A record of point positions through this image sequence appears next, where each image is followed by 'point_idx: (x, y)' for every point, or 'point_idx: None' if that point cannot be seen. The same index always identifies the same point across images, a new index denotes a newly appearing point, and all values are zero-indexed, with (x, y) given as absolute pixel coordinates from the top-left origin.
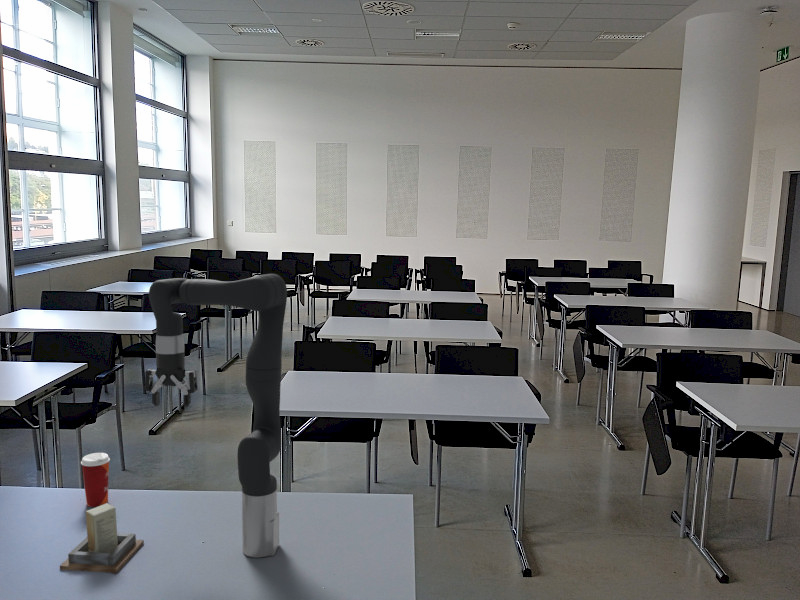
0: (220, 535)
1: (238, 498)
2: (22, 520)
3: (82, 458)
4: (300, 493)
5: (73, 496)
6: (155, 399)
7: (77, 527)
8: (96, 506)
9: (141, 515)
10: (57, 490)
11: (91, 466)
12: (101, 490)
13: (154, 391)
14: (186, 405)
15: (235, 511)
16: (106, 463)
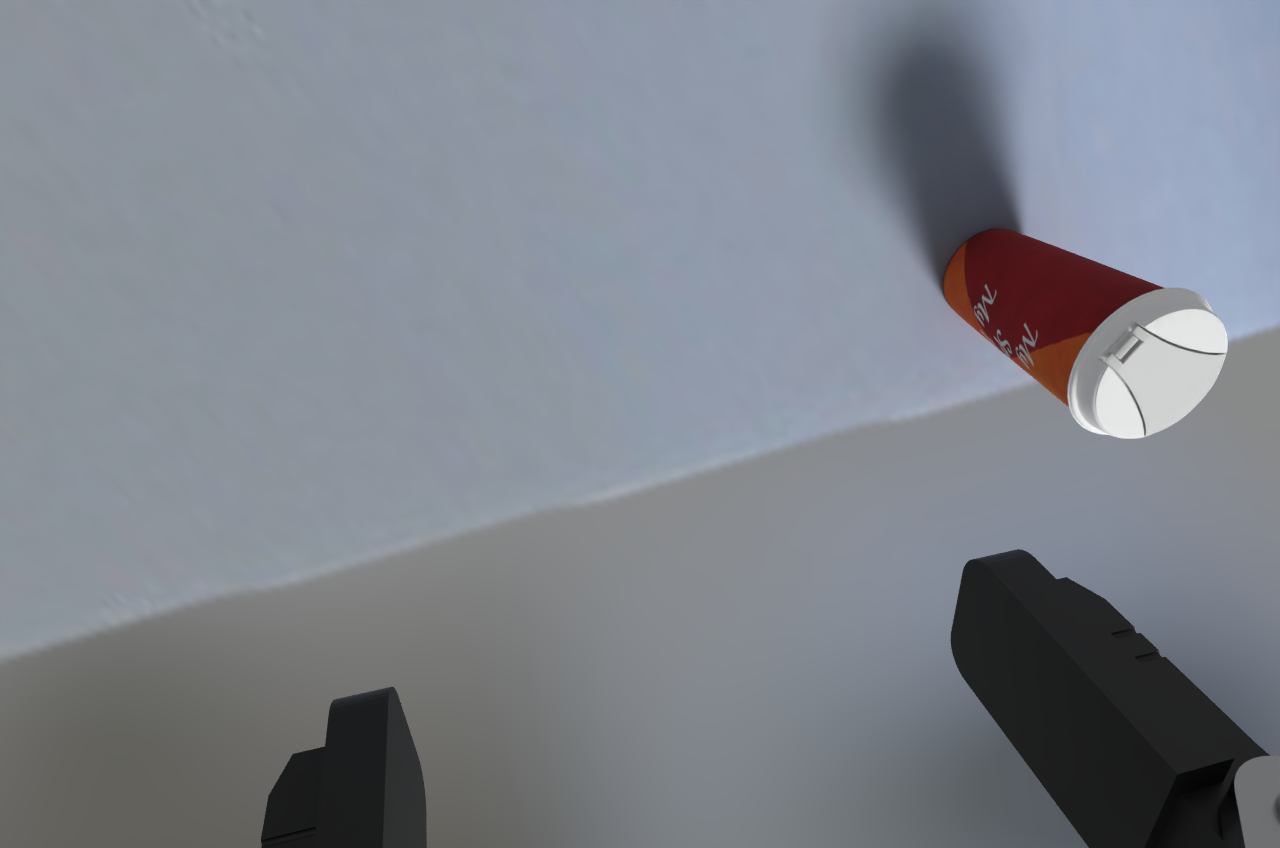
0: (158, 90)
1: (347, 498)
2: (1255, 18)
3: (1226, 337)
4: (60, 633)
5: None
6: (1086, 650)
7: (986, 4)
8: (975, 235)
9: (730, 208)
10: None
11: (1144, 297)
12: (1000, 276)
13: (1278, 822)
14: (334, 743)
15: (270, 376)
16: (1072, 364)
